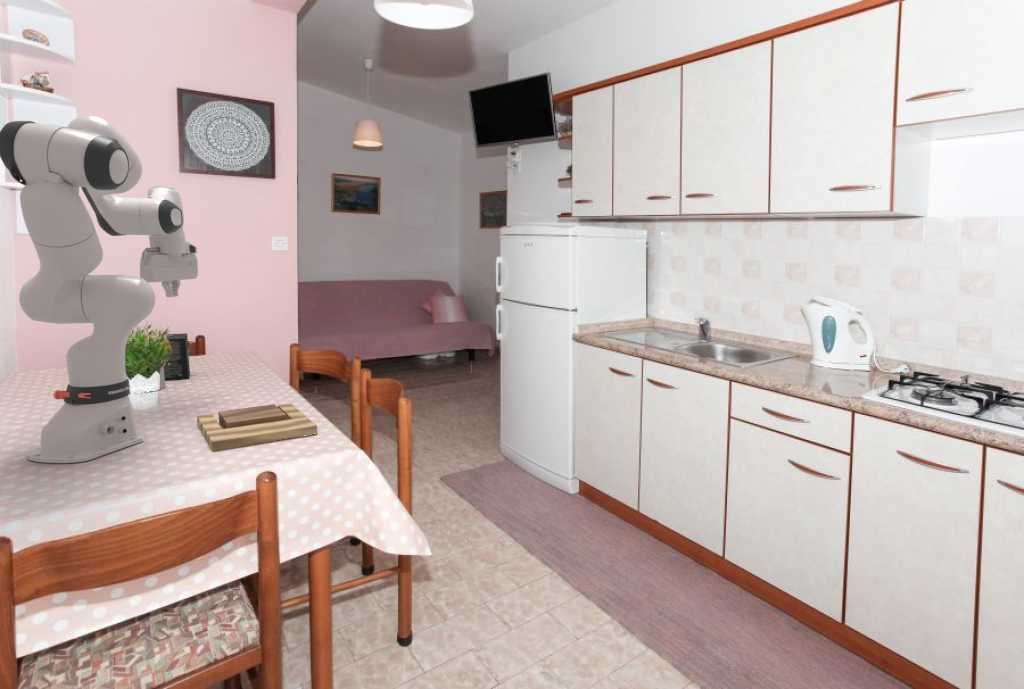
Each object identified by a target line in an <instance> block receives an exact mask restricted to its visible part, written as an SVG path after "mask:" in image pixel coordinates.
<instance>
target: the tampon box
mask: <svg viewBox="0 0 1024 689" xmlns="http://www.w3.org/2000/svg"><path fill="white" fill-rule="evenodd" d="M166 334H167V335H166V338H167V339H168V340H169V342H170V345H171V347H172V349H173V351H172V354H171V356H170V358H169V359H168V361H167V363H166V365H165V366H164V378H165V382H166V381H175V380H176V381H180V380H189V379H190V376H191V370H190V369H191V368H190V354H189V343H188V342H189V341H188V332H187V333H186V332H184V333H166Z"/></svg>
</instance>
